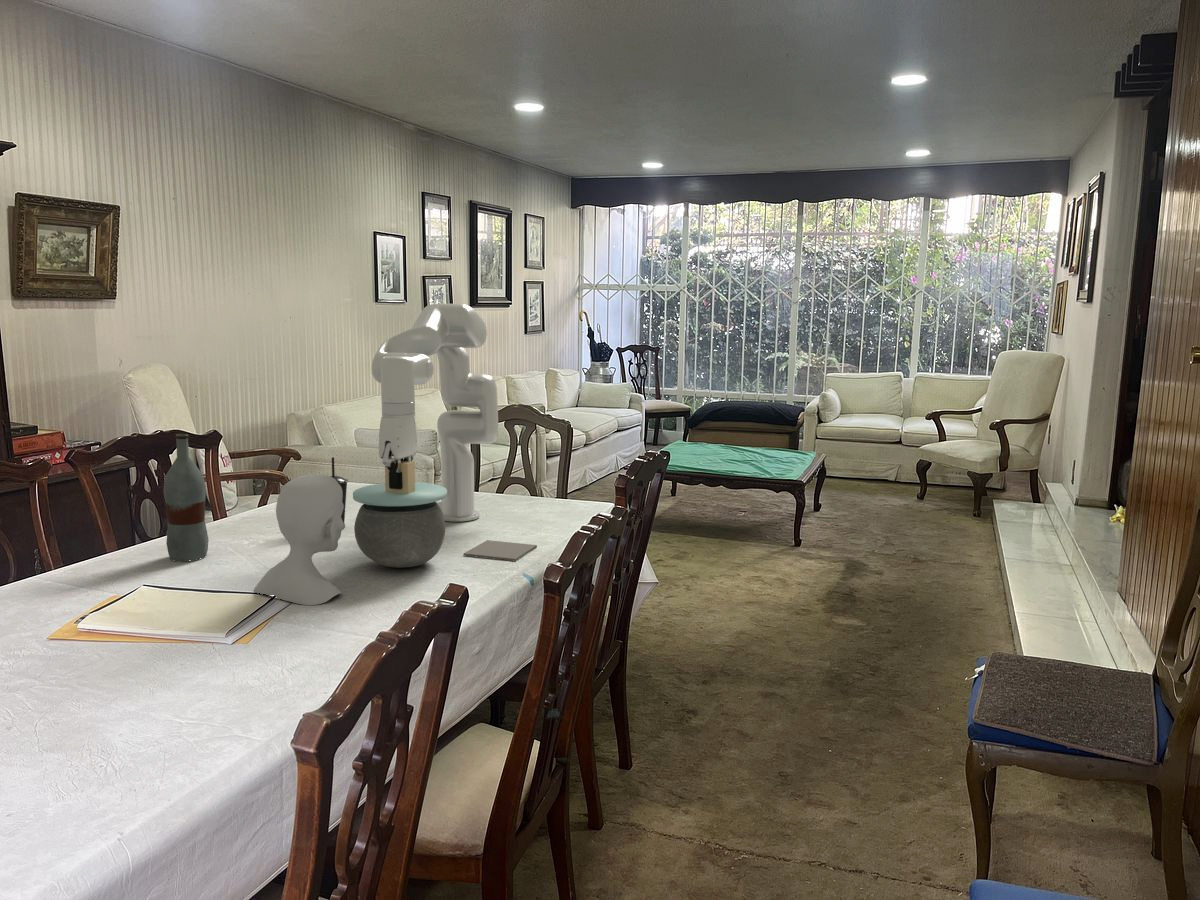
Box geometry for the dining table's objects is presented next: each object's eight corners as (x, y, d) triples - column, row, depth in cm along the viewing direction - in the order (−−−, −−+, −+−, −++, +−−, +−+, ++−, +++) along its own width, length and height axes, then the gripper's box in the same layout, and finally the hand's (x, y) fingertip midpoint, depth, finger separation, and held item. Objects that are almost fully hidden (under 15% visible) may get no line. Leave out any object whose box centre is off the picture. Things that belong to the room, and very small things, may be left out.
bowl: (425, 581, 198) (424, 516, 196) (339, 574, 202) (337, 510, 200) (458, 557, 219) (458, 497, 217) (379, 551, 223) (378, 492, 221)
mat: (463, 555, 220) (463, 553, 220) (487, 542, 233) (487, 540, 233) (515, 561, 216) (515, 558, 216) (536, 547, 229) (536, 545, 229)
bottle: (158, 559, 213) (151, 435, 208) (191, 550, 221) (185, 430, 216) (184, 564, 208) (177, 438, 204) (217, 555, 216) (211, 433, 212)
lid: (334, 501, 202) (332, 467, 200) (384, 483, 222) (383, 451, 221) (418, 509, 195) (418, 474, 194) (462, 490, 216) (462, 457, 214)
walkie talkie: (353, 526, 248) (351, 455, 245) (343, 532, 240) (341, 460, 237) (327, 525, 249) (325, 454, 246) (315, 531, 241) (313, 459, 238)
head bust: (380, 585, 195) (378, 473, 191) (312, 609, 179) (308, 487, 175) (312, 569, 206) (308, 463, 202) (241, 590, 190) (236, 476, 186)
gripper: (402, 404, 214) (403, 479, 217) (364, 412, 198) (367, 492, 202) (430, 406, 212) (431, 481, 215) (394, 414, 196) (396, 495, 199)
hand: (400, 486), depth 208 cm, fingers closed on lid, 3 cm apart
